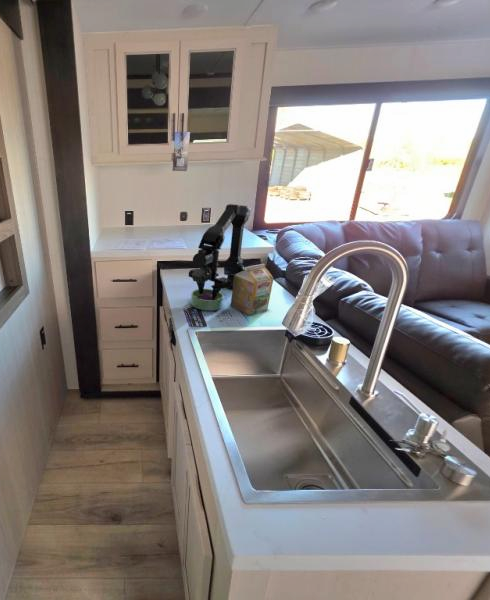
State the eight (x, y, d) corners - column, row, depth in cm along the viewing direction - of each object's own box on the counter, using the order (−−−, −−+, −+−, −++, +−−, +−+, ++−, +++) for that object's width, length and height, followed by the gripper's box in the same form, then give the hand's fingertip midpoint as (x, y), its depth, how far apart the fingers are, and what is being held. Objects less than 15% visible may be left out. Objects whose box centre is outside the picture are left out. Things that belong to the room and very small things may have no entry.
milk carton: (249, 315, 127) (256, 271, 120) (230, 305, 136) (236, 263, 128) (267, 310, 132) (275, 267, 124) (247, 301, 140) (254, 260, 133)
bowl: (205, 296, 145) (206, 286, 143) (228, 306, 135) (229, 295, 133) (184, 303, 138) (185, 293, 136) (207, 314, 128) (208, 303, 126)
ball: (205, 300, 140) (206, 290, 138) (214, 304, 136) (215, 293, 134) (197, 303, 137) (198, 292, 135) (206, 307, 134) (207, 296, 132)
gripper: (180, 259, 132) (178, 294, 138) (215, 271, 118) (211, 308, 124) (199, 255, 138) (196, 288, 144) (234, 266, 124) (229, 302, 130)
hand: (207, 296), depth 135 cm, fingers open, 7 cm apart
